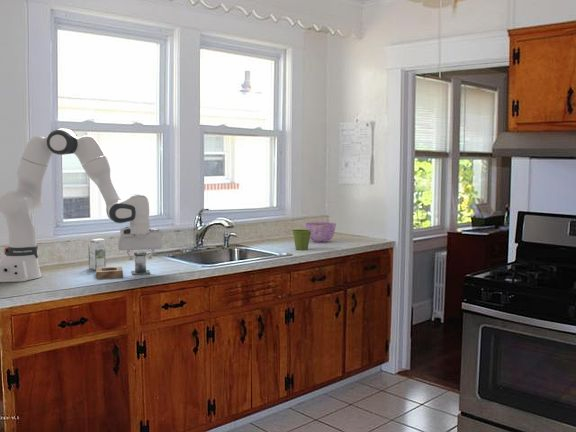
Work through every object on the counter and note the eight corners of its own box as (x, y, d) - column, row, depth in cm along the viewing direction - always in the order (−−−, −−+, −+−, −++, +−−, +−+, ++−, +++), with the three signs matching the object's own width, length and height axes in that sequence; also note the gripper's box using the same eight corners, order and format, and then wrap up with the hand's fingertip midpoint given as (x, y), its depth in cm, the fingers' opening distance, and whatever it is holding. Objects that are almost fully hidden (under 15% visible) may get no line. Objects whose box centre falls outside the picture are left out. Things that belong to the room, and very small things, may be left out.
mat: (132, 275, 267) (132, 273, 266) (131, 272, 274) (131, 270, 274) (150, 274, 269) (150, 272, 269) (148, 271, 277) (148, 269, 277)
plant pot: (298, 251, 337) (298, 232, 336) (288, 248, 347) (288, 230, 346) (315, 249, 343) (315, 230, 342) (305, 247, 353) (305, 228, 352)
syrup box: (99, 267, 287) (98, 237, 285) (106, 268, 283) (105, 238, 282) (88, 268, 282) (87, 238, 281) (95, 270, 279) (94, 240, 277)
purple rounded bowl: (309, 239, 391) (309, 221, 390) (338, 240, 386) (338, 222, 385) (301, 243, 372) (302, 224, 371) (332, 244, 367) (333, 225, 366)
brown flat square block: (96, 278, 258) (96, 272, 258) (96, 274, 269) (96, 267, 269) (122, 277, 262) (122, 270, 261) (121, 272, 272) (121, 266, 272)
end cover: (134, 273, 268) (134, 253, 267) (134, 271, 273) (133, 252, 272) (147, 272, 270) (146, 253, 269) (146, 270, 275) (145, 251, 274)
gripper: (162, 227, 276) (162, 256, 277) (116, 229, 269) (117, 259, 271) (163, 229, 270) (164, 259, 271) (117, 230, 263) (118, 261, 265)
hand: (140, 259), depth 271 cm, fingers open, 7 cm apart
